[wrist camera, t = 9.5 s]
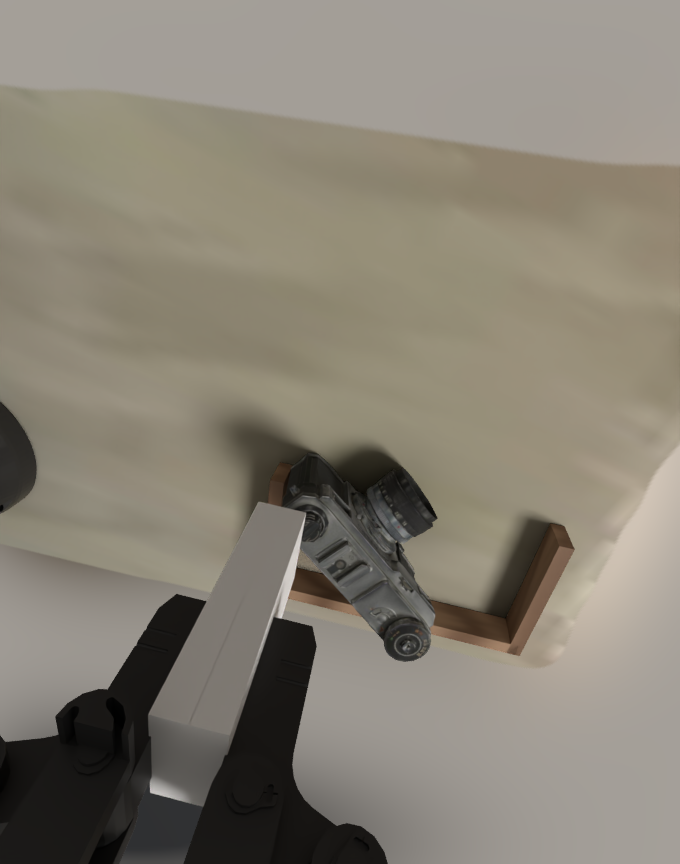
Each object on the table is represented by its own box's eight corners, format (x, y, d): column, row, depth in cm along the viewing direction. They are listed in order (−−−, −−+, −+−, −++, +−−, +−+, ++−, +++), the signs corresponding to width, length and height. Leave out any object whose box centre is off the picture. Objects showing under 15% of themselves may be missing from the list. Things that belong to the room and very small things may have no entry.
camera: (470, 545, 44) (509, 620, 34) (392, 595, 45) (408, 680, 36) (358, 405, 39) (366, 446, 30) (276, 466, 41) (258, 524, 31)
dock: (268, 569, 47) (256, 597, 44) (280, 462, 41) (267, 485, 38) (513, 629, 45) (520, 663, 42) (564, 526, 39) (577, 556, 36)
